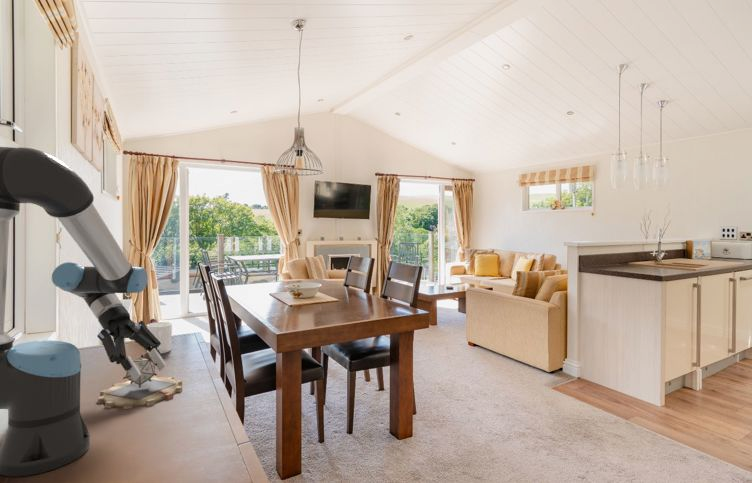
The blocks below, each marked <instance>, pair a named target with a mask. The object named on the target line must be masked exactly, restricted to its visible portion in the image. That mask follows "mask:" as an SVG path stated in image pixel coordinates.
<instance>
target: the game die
mask: <svg viewBox="0 0 752 483" xmlns="http://www.w3.org/2000/svg"><path fill="white" fill-rule="evenodd" d="M133 362H134V363H135V365H136V366H137V368H138V369H139V371H140V372H141V376H140V377H139V378H138V379H137V380H135V381H134V380H133V378H132V377H131V375H130V374H129V372H128V371H126V375H125V376H124V377H122V380H125V379H127V380H128V381H132V382H130V383H131V384H132V383H133V382H134V383H136V384H138V385H139V388H140V387H141V384H143V383H145V382H147V381H148V380H149V381H151V378H152V376H158V374H157V373H155V371H156V365H157V363H156V364H154V362H153V361H152V359H151V358H150V357H149V358H146V357H144V355H143V354H141V355H140V357H139V358H137V359H135V360H133Z"/></svg>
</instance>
